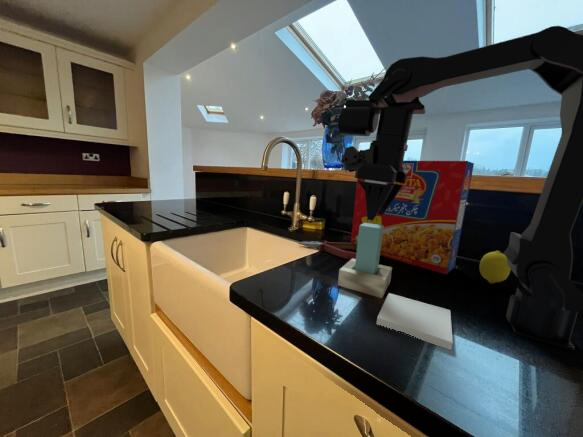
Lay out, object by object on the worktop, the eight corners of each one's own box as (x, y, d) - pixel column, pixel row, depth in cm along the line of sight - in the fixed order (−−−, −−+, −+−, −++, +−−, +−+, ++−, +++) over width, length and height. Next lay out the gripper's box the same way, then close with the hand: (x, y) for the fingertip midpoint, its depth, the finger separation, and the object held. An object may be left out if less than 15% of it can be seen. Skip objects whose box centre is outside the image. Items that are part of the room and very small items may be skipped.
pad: (448, 316, 42) (450, 310, 42) (451, 350, 34) (452, 342, 33) (387, 298, 47) (388, 292, 47) (376, 324, 39) (377, 317, 38)
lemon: (503, 282, 59) (510, 250, 57) (509, 291, 54) (517, 256, 52) (475, 276, 61) (481, 245, 60) (478, 284, 57) (485, 251, 55)
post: (376, 283, 54) (383, 225, 52) (371, 289, 51) (379, 228, 48) (358, 278, 56) (364, 222, 54) (352, 284, 53) (359, 225, 50)
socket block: (390, 282, 55) (392, 267, 54) (382, 298, 47) (384, 281, 47) (350, 272, 59) (352, 258, 59) (337, 285, 52) (339, 269, 51)
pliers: (305, 241, 85) (306, 234, 85) (364, 252, 78) (365, 244, 77) (292, 250, 75) (293, 242, 75) (359, 263, 67) (360, 254, 67)
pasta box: (350, 246, 81) (359, 160, 76) (362, 243, 87) (371, 162, 82) (446, 274, 62) (467, 160, 57) (454, 267, 67) (474, 163, 62)
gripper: (362, 142, 58) (351, 206, 62) (334, 126, 43) (320, 213, 46) (413, 145, 53) (398, 215, 56) (402, 128, 37) (381, 227, 41)
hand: (375, 217), depth 50 cm, fingers open, 9 cm apart
